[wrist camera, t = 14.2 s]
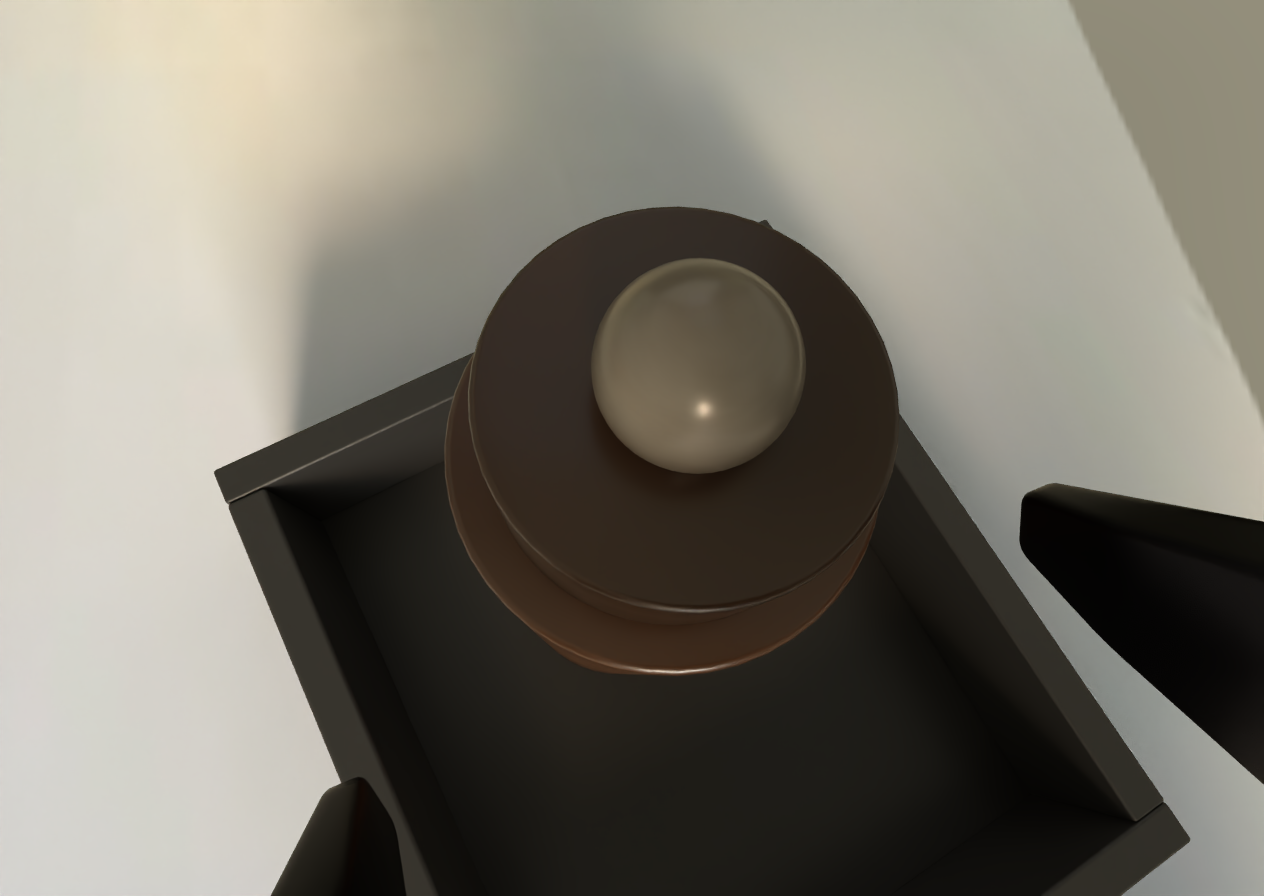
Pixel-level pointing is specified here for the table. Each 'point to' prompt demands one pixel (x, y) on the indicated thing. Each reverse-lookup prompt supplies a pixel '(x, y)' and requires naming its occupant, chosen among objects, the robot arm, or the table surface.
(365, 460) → the dark grey tray
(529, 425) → the pepper mill
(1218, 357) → the table surface
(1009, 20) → the table surface
